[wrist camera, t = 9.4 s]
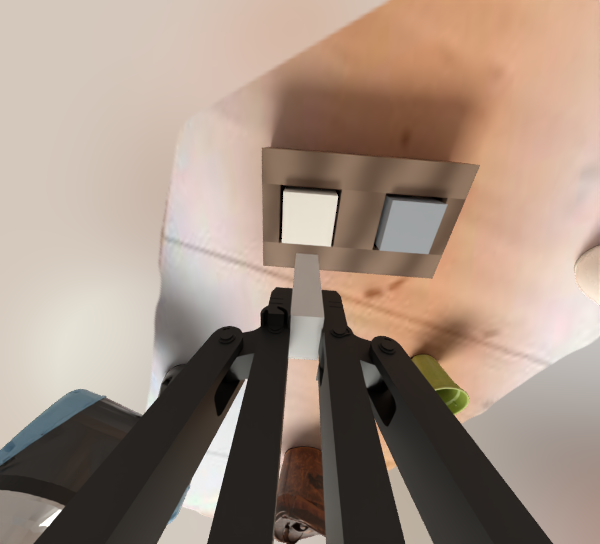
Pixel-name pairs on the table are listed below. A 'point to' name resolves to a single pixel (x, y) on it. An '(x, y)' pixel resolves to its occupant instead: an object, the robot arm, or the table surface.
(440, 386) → the plant pot
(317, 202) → the cream key
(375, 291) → the table surface
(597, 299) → the lidded jar
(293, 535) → the brown tapered cylinder
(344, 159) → the key block
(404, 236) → the slate key
